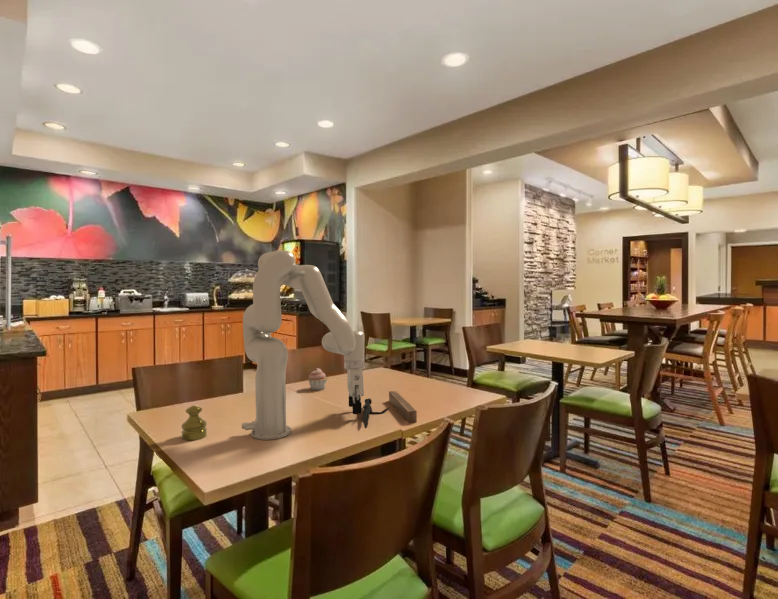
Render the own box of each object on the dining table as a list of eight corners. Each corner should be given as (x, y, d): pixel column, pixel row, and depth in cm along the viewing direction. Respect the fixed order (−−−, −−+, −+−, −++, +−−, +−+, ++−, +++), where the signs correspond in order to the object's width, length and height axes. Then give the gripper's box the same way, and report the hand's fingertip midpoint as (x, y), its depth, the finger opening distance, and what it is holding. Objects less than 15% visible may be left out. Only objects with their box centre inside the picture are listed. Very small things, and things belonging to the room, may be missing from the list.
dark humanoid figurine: (382, 409, 148) (384, 387, 173) (357, 417, 149) (363, 394, 174) (389, 432, 149) (391, 406, 174) (365, 439, 150) (370, 413, 174)
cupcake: (308, 387, 211) (307, 366, 210) (327, 386, 212) (327, 365, 211) (306, 391, 201) (306, 369, 201) (327, 391, 202) (327, 369, 202)
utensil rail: (408, 422, 155) (408, 411, 155) (389, 400, 184) (388, 391, 184) (416, 422, 156) (416, 410, 156) (396, 400, 185) (395, 391, 185)
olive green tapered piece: (181, 442, 137) (180, 410, 137) (182, 434, 144) (181, 404, 144) (207, 438, 140) (206, 407, 140) (206, 431, 147) (206, 401, 147)
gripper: (368, 368, 157) (369, 415, 158) (360, 360, 174) (360, 403, 174) (347, 369, 155) (348, 417, 156) (341, 360, 172) (341, 404, 173)
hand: (354, 409), depth 165 cm, fingers open, 9 cm apart
